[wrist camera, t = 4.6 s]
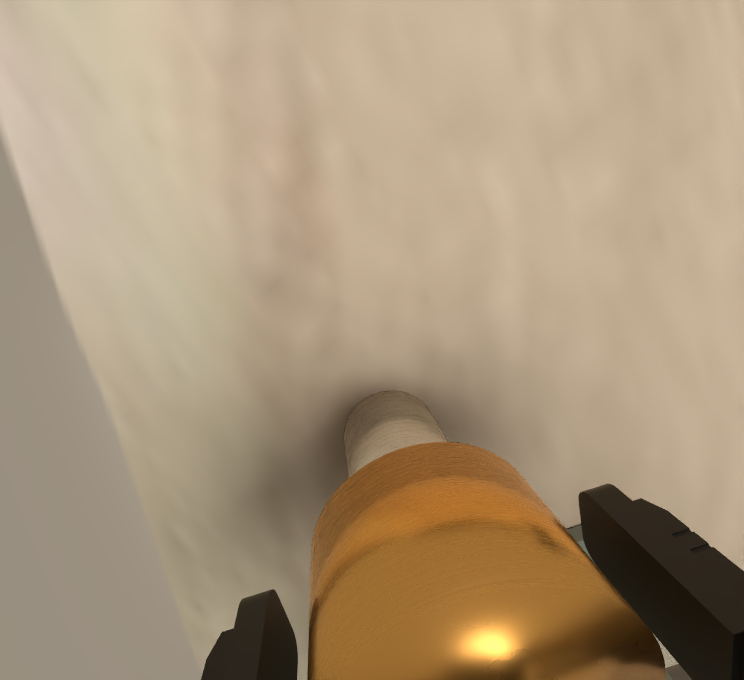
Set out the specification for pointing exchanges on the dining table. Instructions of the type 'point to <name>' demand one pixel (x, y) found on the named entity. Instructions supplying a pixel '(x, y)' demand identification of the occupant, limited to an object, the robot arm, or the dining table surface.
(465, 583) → the orange domed cylinder
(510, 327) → the dining table surface
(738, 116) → the dining table surface
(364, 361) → the dining table surface
